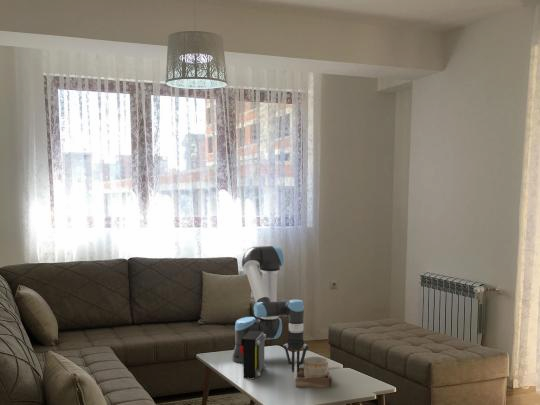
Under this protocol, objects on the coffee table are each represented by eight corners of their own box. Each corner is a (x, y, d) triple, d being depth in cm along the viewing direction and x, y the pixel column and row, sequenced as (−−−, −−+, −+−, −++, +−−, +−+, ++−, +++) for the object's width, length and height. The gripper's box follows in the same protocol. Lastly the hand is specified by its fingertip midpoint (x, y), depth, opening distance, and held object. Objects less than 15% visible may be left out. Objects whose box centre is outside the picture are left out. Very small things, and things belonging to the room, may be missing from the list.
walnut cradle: (293, 375, 282) (293, 367, 282) (326, 374, 283) (326, 367, 283) (295, 387, 264) (295, 379, 264) (331, 387, 264) (331, 378, 264)
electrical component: (259, 379, 276) (259, 339, 276) (239, 377, 278) (239, 338, 278) (266, 368, 293) (266, 331, 293) (248, 367, 295) (248, 330, 295)
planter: (301, 377, 279) (301, 356, 279) (325, 376, 280) (325, 356, 280) (305, 385, 266) (305, 364, 266) (330, 384, 267) (330, 363, 267)
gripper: (283, 332, 268) (282, 380, 268) (309, 333, 268) (308, 380, 268) (282, 329, 276) (282, 375, 275) (308, 329, 276) (307, 375, 276)
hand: (295, 378), depth 272 cm, fingers closed
